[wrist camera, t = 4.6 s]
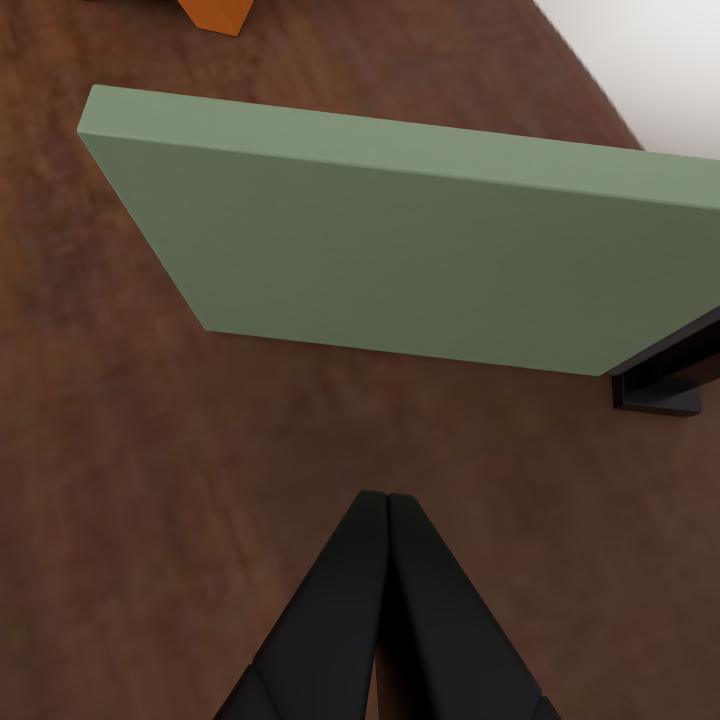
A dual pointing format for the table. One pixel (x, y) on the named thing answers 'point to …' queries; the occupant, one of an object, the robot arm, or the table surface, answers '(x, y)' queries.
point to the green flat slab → (414, 231)
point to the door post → (671, 376)
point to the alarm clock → (218, 14)
